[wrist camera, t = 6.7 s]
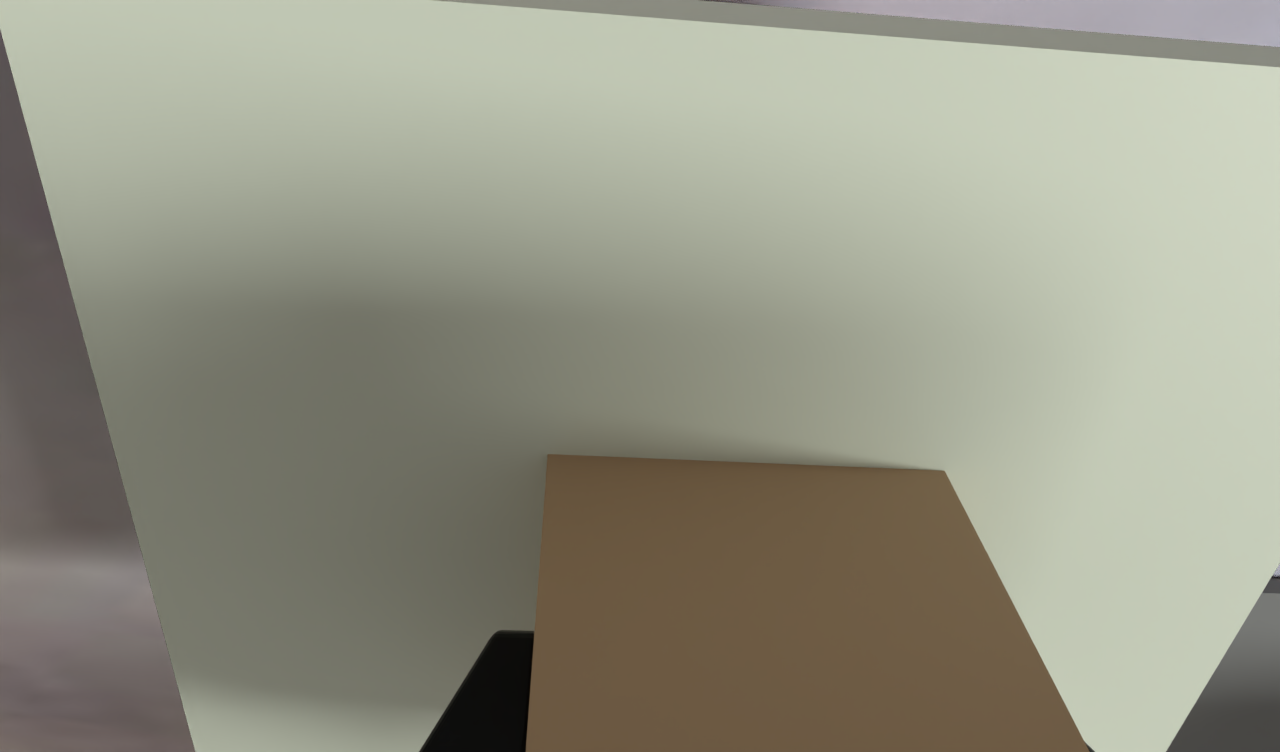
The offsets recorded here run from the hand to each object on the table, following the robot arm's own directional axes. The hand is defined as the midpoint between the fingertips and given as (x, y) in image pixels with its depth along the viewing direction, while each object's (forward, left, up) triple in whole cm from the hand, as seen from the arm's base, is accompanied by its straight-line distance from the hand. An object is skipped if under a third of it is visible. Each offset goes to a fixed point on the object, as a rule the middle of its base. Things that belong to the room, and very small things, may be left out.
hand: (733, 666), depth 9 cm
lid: (0, 0, -2) cm, 2 cm away
